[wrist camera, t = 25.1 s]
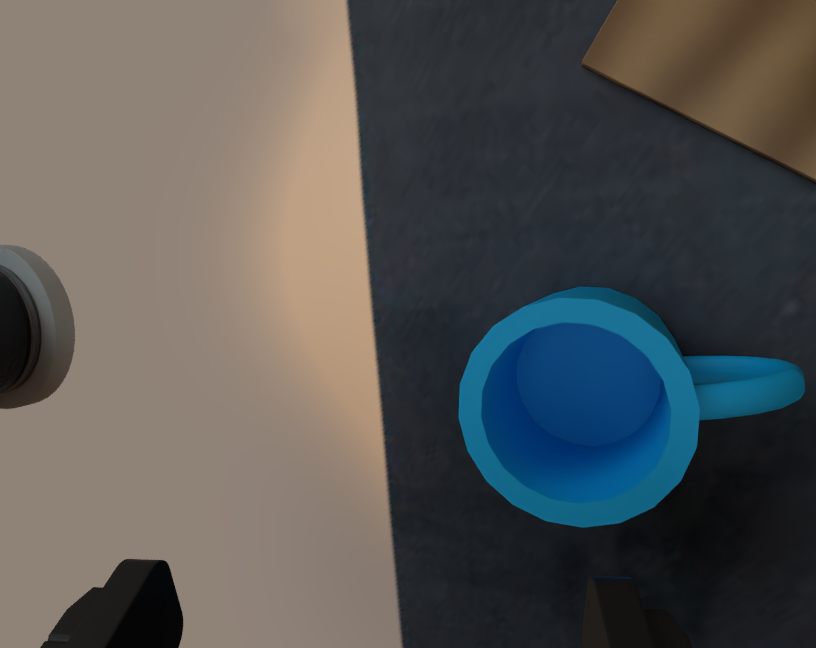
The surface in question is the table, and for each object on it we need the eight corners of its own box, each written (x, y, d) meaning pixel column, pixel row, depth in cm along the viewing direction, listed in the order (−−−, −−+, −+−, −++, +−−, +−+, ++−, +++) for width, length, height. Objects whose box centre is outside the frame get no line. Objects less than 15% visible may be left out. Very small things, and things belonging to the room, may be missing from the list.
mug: (512, 457, 31) (470, 524, 23) (494, 295, 30) (446, 309, 22) (787, 454, 26) (849, 535, 19) (772, 266, 26) (829, 270, 18)
